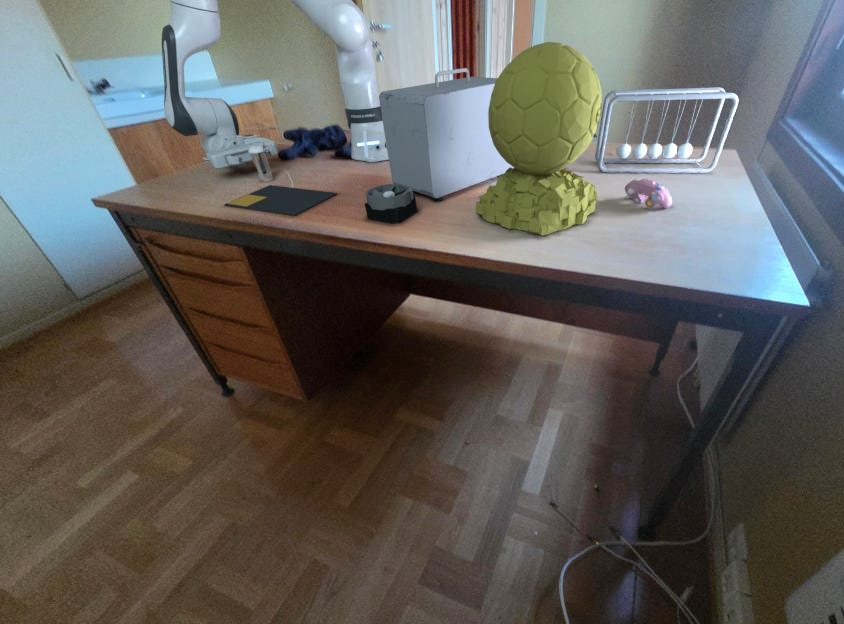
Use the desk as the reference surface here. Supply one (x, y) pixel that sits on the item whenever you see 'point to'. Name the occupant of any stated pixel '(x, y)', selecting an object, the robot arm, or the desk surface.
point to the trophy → (542, 139)
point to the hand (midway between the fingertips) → (255, 156)
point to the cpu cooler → (390, 203)
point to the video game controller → (648, 193)
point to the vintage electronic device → (441, 135)
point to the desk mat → (281, 200)
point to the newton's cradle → (656, 148)
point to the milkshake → (261, 162)
